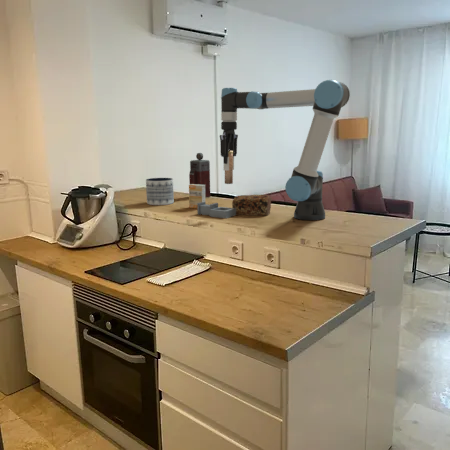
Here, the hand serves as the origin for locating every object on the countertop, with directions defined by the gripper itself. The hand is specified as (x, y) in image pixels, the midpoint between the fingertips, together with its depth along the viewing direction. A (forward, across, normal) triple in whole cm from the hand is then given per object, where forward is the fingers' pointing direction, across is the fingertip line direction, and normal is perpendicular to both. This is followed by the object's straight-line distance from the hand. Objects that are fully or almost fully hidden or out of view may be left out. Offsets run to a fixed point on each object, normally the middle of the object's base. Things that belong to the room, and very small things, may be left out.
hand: (228, 169), depth 229 cm
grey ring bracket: (+24, 0, -8) cm, 25 cm away
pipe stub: (+7, 0, 0) cm, 7 cm away
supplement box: (+24, -13, -28) cm, 40 cm away
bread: (+24, -12, +7) cm, 27 cm away
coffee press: (+25, -47, -50) cm, 73 cm away
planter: (+25, -16, -57) cm, 65 cm away
